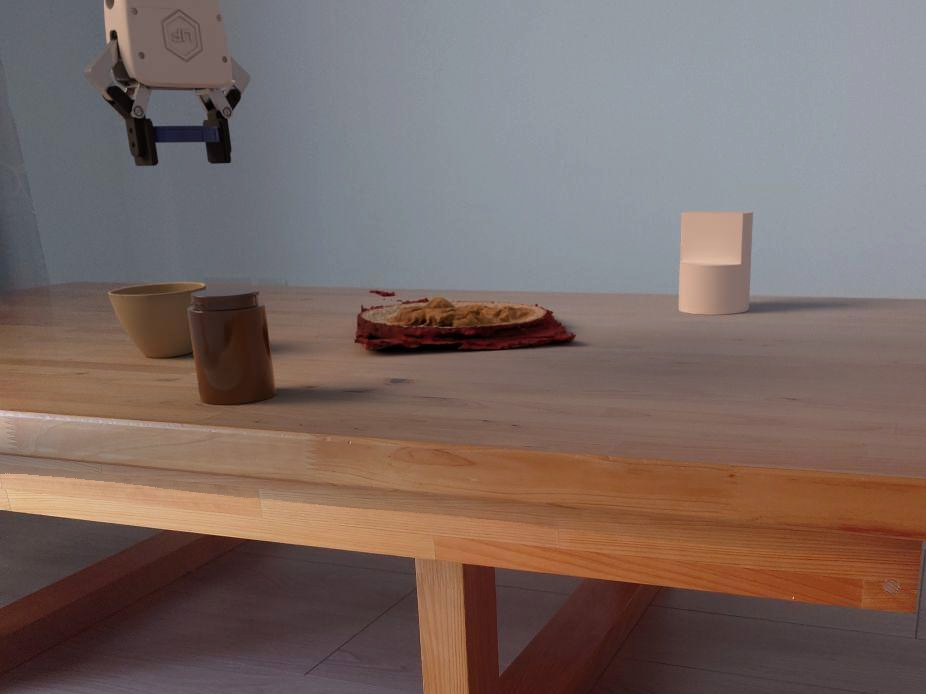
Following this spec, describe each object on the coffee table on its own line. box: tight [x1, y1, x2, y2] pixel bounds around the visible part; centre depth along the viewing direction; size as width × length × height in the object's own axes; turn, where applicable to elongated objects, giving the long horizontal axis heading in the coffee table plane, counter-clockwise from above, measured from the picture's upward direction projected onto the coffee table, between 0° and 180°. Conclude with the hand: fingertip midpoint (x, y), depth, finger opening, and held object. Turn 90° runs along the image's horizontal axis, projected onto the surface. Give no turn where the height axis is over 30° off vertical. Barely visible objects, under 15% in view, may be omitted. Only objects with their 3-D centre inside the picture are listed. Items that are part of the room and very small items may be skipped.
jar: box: [187, 287, 277, 406], centre depth 89 cm, size 7×7×9 cm
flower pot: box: [107, 281, 207, 359], centre depth 110 cm, size 10×10×7 cm
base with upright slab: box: [678, 210, 754, 316], centre depth 129 cm, size 9×9×12 cm
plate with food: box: [353, 289, 577, 351], centre depth 119 cm, size 24×26×3 cm
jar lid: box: [153, 125, 220, 144], centre depth 95 cm, size 7×7×1 cm
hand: (184, 162), depth 96 cm, fingers closed on jar lid, 7 cm apart
